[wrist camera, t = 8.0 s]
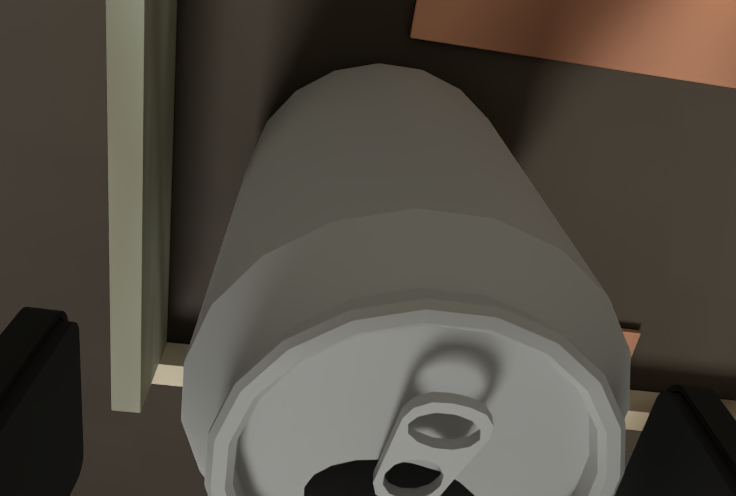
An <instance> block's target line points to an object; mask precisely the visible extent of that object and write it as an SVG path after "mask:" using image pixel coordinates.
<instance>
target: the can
mask: <svg viewBox="0 0 736 496" xmlns="http://www.w3.org/2000/svg"><path fill="white" fill-rule="evenodd" d="M630 361H631V351H630V349H629V346H628V344H627V342H626V339H625V337H624V334H623V332H622V329H621V327H620V324H619V322H618V319H617V317H616V314H615V312H614V309H613V307H612V304H611V302H610V299H609V297H608V295H607V294H606V292H605V291H604V290H603V288H602V287H601V285H600V284H599V282H598V281H597V279H596V278H595V276H594V275H593V273H592V272H591V270H590V269H589V267H588V266H587V264H586V263H585V261H584V260H583V258H582V257H581V256H580V254H579V253H578V251H577V250H576V248H575V247H574V245H573V244H572V242H571V241H570V239H569V238H568V236H567V235H566V233H565V232H564V230H563V229H562V227H561V226H560V224H559V223H558V221H557V220H556V219H555V217H554V216H553V214H552V213H551V211H550V210H549V208H548V207H547V205H546V204H545V202H544V201H543V199H542V198H541V196H540V195H539V193H538V192H537V190H536V189H535V187H534V186H533V185H532V183H531V182H530V180H529V179H528V177H527V176H526V174H525V173H524V171H523V170H522V168H521V167H520V165H519V164H518V162H517V161H516V159H515V158H514V156H513V155H512V153H511V152H510V150H509V149H508V148H507V146H506V145H505V143H504V142H503V140H502V139H501V137H500V136H499V134H498V133H497V131H496V130H495V128H494V127H493V125H492V124H491V122H490V121H489V119H488V118H487V117H486V116H485V115H484V114H483V113H482V112H481V111H480V110H479V109H478V108H477V107H476V106H475V105H474V103H473V102H472V101H471V100H470V99H469V98H468V97H467V96H466V95H465V94H464V93H463V92H462V91H461V90H460V89H458V88H456V87H455V86H453V85H451V84H449V83H447V82H445V81H443V80H441V79H439V78H437V77H435V76H433V75H431V74H429V73H427V72H426V71H424V70H420V69H414V68H407V67H400V66H394V65H387V64H381V63H377V64H371V65H365V66H359V67H353V68H347V69H341V70H335V71H333V72H331V73H329V74H327V75H325V76H324V77H322V78H320V79H318V80H316V81H314V82H312V83H310V84H308V85H306V86H304V87H303V88H301V89H299V90H297V91H296V92H295V93H294V94H293V95H292V96H291V97H290V98H289V99H288V100H287V101H286V102H285V103H284V104H283V105H282V106H281V107H280V108H279V109H278V110H277V111H276V112H275V114H274V115H273V116H272V117H271V118H270V119H269V120H268V121H267V122H266V124H265V127H264V129H263V131H262V133H261V135H260V138H259V140H258V142H257V144H256V146H255V149H254V151H253V153H252V155H251V157H250V160H249V163H248V166H247V169H246V172H245V175H244V179H243V182H242V185H241V188H240V191H239V194H238V197H237V200H236V203H235V206H234V209H233V212H232V216H231V219H230V222H229V225H228V228H227V231H226V234H225V237H224V240H223V243H222V246H221V250H220V253H219V256H218V259H217V262H216V265H215V268H214V271H213V274H212V277H211V280H210V283H209V287H208V290H207V293H206V296H205V299H204V302H203V305H202V308H201V311H200V314H199V317H198V320H197V324H196V327H195V330H194V333H193V336H192V339H191V342H190V345H189V348H188V351H187V354H186V357H185V361H184V370H183V391H182V412H181V421H182V424H183V427H184V429H185V432H186V435H187V437H188V440H189V443H190V446H191V448H192V451H193V454H194V457H195V459H196V462H197V465H198V467H199V470H200V472H201V473H202V475H203V476H204V477H205V488H206V491H207V493H208V496H614V495H615V493H616V491H617V488H618V486H619V484H620V482H621V479H622V477H623V475H624V473H625V429H626V423H625V417H626V415H627V412H628V410H629V402H630Z"/></svg>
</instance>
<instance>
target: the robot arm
mask: <svg viewBox="0 0 736 496" xmlns="http://www.w3.org/2000/svg"><path fill="white" fill-rule="evenodd" d="M82 463H83V426H82V398H81V371H80V343H79V327H78V324H77V323H76V322H70V321H68V318H67V315H66V313H65V312H64V311H58V310H49V309H41V308H32V307H24V308H23V309H22V310H20V311H19V313H18V314H17V315H16V316H15V318H14V319H13V320H12V321H11V322H10V324H9V325H8V326H7V327H6V329H5V330H4V331H3V332H2V334H1V335H0V496H70V494H71V492H72V490H73V488H74V486H75V484H76V481H77V479H78V477H79V474H80V471H81V467H82ZM614 496H736V420H735V419H734V417H733V416H732V415H731V413H730V412H729V411H728V409H727V408H726V406H725V405H724V404H723V402H722V401H721V400H720V398H719V397H718V396H717V394H716V393H715V392H714V391H713V390H711V389H708V388H702V387H694V386H686V385H672V386H671V387H670V388H669V389H668V390H667V392H661V393H660V394H659V395H658V396H657V398H656V400H655V402H654V405H653V407H652V409H651V412H650V414H649V416H648V419H647V421H646V423H645V425H644V428H643V430H642V432H641V435H640V437H639V439H638V442H637V444H636V446H635V449H634V451H633V453H632V456H631V458H630V460H629V463H628V465H627V467H626V470H625V473H624V475H623V477H622V479H621V482H620V484H619V486H618V488H617V491H616V493H615V495H614Z"/></svg>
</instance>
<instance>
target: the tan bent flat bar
mask: <svg viewBox="0 0 736 496" xmlns="http://www.w3.org/2000/svg"><path fill="white" fill-rule="evenodd" d="M176 25H177V0H106V42H107V114H108V186H109V257H110V329H111V401H112V410H115V411H126V412H137V413H140V412H141V410H142V407H143V404H144V402H145V399H146V396H147V394H148V391H149V388H150V386H151V384H162V385H172V386H182V387H183V370H184V361H185V357H186V354H187V351H188V348H189V344H180V343H170V342H167V321H168V288H169V255H170V222H171V189H172V156H173V124H174V91H175V58H176ZM410 38H416V39H422V40H429V41H435V42H441V43H448V44H454V45H461V46H467V47H474V48H480V49H487V50H493V51H499V52H506V53H512V54H519V55H525V56H532V57H538V58H544V59H551V60H557V61H564V62H570V63H577V64H583V65H589V66H596V67H602V68H609V69H615V70H622V71H628V72H635V73H641V74H647V75H654V76H660V77H667V78H673V79H680V80H686V81H692V82H699V83H705V84H712V85H718V86H725V87H731V88H736V0H416V4H415V10H414V16H413V21H412V27H411V32H410ZM621 329H622V332H623V334H624V337H625V339H626V342H627V344H628V346H629V349H630V351H631V356H632V354H633V351H634V349H635V346H636V344H637V341H638V339H639V336H640V334H641V333H640V332H639V330H632V329H623V328H621ZM659 394H660V393H657V392H647V391H637V390H630V402H629V410H628V412H627V415H626V417H625V423H626V429H630V430H640V431H642V430H643V428H644V425H645V423H646V421H647V419H648V416H649V414H650V412H651V409H652V407H653V405H654V402H655V400H656V398H657V396H658V395H659ZM720 400H721V401H722V402H723V404H724V405H725V406H726V408H727V409H728V411H729V412H730V413H731V415H732V416H733V417H734V419H735V420H736V401H735V400H725V399H720Z"/></svg>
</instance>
